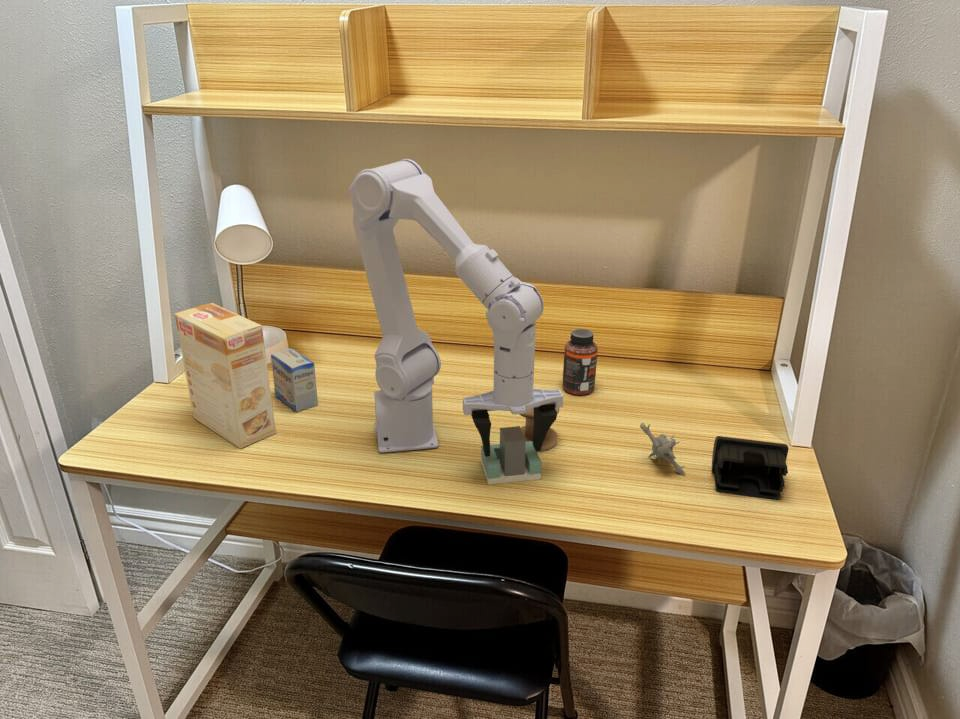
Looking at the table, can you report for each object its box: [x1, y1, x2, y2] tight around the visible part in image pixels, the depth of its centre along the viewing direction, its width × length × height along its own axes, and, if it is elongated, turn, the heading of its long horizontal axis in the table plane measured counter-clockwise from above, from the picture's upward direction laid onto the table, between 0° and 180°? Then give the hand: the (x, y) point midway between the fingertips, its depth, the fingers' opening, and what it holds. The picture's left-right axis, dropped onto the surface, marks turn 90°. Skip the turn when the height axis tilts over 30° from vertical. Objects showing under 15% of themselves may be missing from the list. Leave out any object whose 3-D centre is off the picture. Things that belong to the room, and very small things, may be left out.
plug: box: [499, 425, 526, 476], centre depth 113 cm, size 3×4×6 cm
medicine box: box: [270, 347, 319, 413], centre depth 133 cm, size 8×4×9 cm, turn 42°
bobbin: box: [518, 407, 560, 452], centre depth 122 cm, size 7×7×7 cm
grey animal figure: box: [639, 422, 686, 477], centre depth 117 cm, size 10×6×9 cm
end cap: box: [711, 435, 790, 501], centre depth 111 cm, size 10×7×7 cm
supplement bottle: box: [562, 328, 599, 396], centre depth 137 cm, size 6×6×11 cm
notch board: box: [480, 441, 543, 485], centre depth 114 cm, size 8×6×3 cm
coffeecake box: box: [174, 302, 277, 450], centre depth 123 cm, size 15×7×20 cm, turn 48°
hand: (511, 450), depth 113 cm, fingers open, 7 cm apart
